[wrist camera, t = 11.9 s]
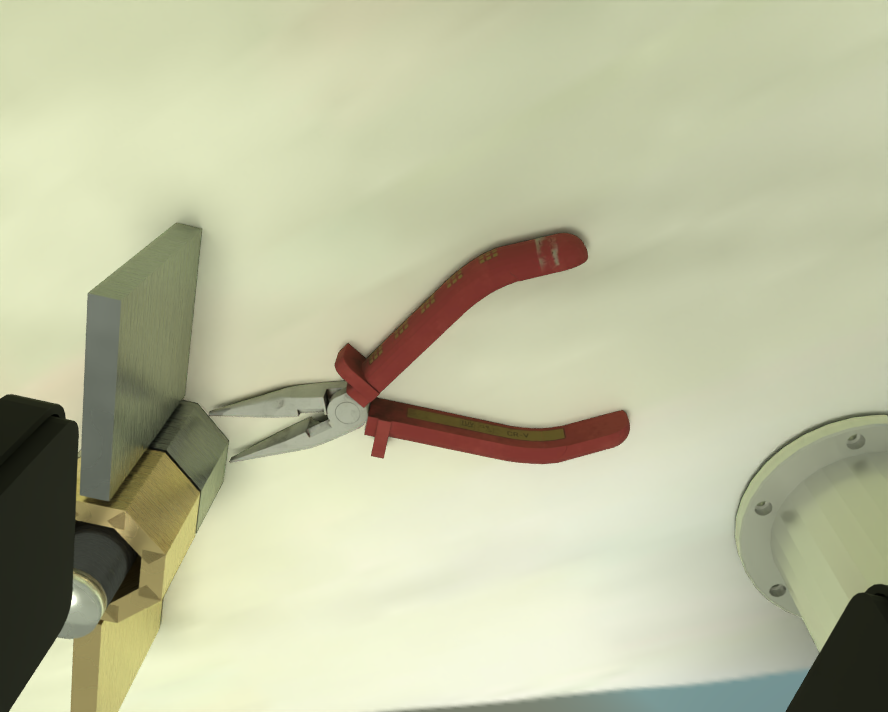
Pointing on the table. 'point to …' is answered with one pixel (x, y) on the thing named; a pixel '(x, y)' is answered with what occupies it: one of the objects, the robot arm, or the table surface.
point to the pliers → (370, 376)
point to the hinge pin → (95, 575)
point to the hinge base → (146, 373)
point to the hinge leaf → (133, 576)
